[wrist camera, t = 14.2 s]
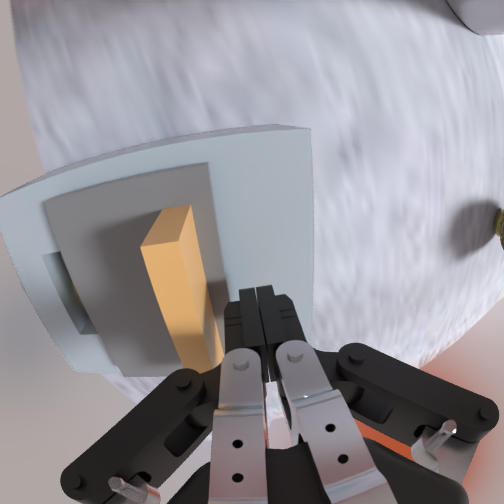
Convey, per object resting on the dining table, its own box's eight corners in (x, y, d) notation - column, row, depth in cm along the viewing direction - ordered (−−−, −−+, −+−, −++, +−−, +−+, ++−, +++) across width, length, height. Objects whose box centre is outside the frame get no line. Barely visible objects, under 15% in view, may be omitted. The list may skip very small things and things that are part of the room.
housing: (276, 124, 18) (310, 128, 11) (287, 289, 25) (309, 356, 17) (53, 170, 17) (-9, 201, 10) (101, 310, 24) (74, 371, 17)
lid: (208, 162, 11) (199, 185, 7) (242, 360, 17) (248, 418, 13) (52, 197, 11) (0, 233, 7) (126, 368, 16) (113, 419, 12)
